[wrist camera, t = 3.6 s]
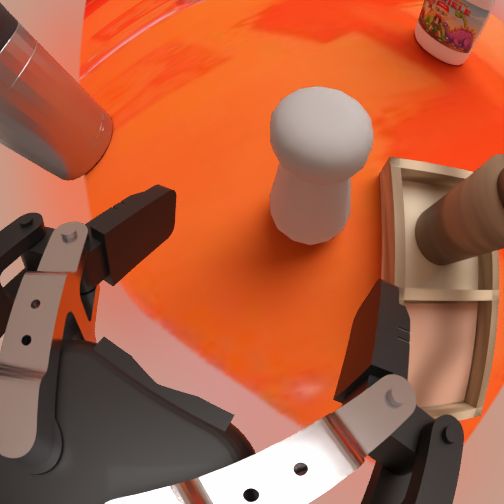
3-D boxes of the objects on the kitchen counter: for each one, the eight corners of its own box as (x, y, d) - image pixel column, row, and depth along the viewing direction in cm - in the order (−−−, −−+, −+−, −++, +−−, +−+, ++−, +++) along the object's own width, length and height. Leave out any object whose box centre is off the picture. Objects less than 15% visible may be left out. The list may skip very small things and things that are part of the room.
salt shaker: (279, 256, 22) (262, 199, 9) (265, 188, 23) (234, 78, 11) (353, 241, 22) (418, 171, 9) (334, 174, 23) (364, 60, 10)
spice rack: (364, 416, 19) (374, 431, 16) (379, 173, 22) (389, 156, 19) (462, 405, 18) (480, 415, 14) (471, 188, 21) (488, 175, 17)
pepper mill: (415, 263, 20) (519, 226, 8) (413, 204, 20) (496, 125, 8) (463, 266, 19) (569, 236, 7) (459, 210, 20) (550, 149, 8)
